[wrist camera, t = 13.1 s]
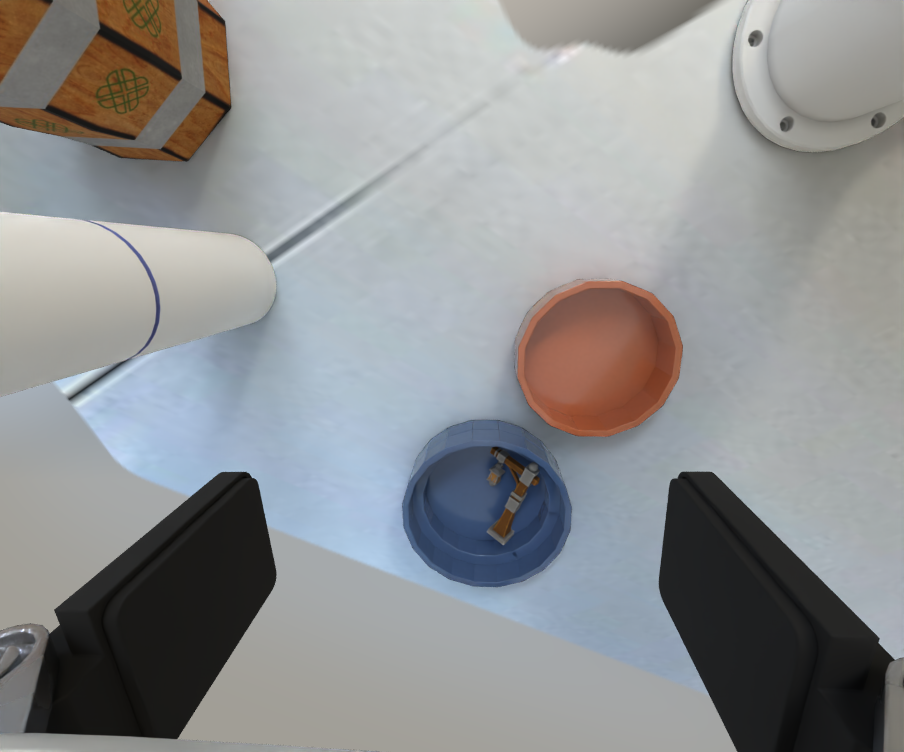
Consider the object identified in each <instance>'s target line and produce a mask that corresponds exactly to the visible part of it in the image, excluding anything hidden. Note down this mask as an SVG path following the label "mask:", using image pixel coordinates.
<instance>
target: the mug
mask: <svg viewBox="0 0 904 752" xmlns="http://www.w3.org/2000/svg"><path fill="white" fill-rule="evenodd" d="M230 109H231V100H230V86H229V73H228V59H227V45H226V32H225V21H224V20H223V18H222V17H221V16H220V15H219V14H218V13H217V11H216V10H215V9H214V8H213V7H212V6H211V4H210V3H209V2H208V1H207V0H0V122H1V123H4V124H6V125H9V126H12V127H17V128H22V129H27V130H32V131H37V132H42V133H47V134H52V135H57V136H61V137H65V138H68V139H71V140H75V141H78V142H82V143H85V144H89V145H92V146H94V147H96V148H99V149H101V150H103V151H106V152H108V153H110V154H112V155H115V156H117V157H119V158H132V159H149V160H167V161H185V162H187V161H188V160H189V159H190V157H191V156H192V155H193V154H194V153H195V151H196V150H197V149H198V148H199V146H200V145H201V144H202V143H203V142H204V140H205V139H206V138H207V137H208V135H209V134H210V133H211V132H212V131H213V129H214V128H215V127H216V126H217V124H218V123H219V122H220V121H221V120H222V118H223V117H224V116H225V115H226V113H227V112H228V111H229V110H230Z"/></svg>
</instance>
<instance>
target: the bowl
mask: <svg viewBox="0 0 904 752" xmlns="http://www.w3.org/2000/svg"><path fill="white" fill-rule="evenodd" d="M493 447H498V448H500V449H501V450H504V451H506V452H507V453H509V454H510V456H511V457H512V458H513V459H515V460H516V461H518V462H519V463H520V464H522V465H523V466H525V467H527V466H528V465H529V464H530V463H532V462H535V463H537V465H538V469H539V470H540V471H539V473H538V474H537V477H539V478H540V481H539V483H538V484H537V485H535V486H534V485H533V484H531V485H530V486H529V487H528V489H527V491H526V493H527V495H526V497H525V499H524V500H523V501H522V503H521V505H520V508H519V509H518V510H517V511H516V513H515V515H514V519H513V522H512V525H511V529H512V530H513V531H515V532H514V535H513V536H512V537H511V538H510V539H509V540H508V541H507V542H506V543H505V544H504V545H502V544H501V543H500V542H499V541H497V540H496V539H495V538H494V537H492V536H491V535H490V534H489V533H487V531H488V529H489V528H490V527H491V526H492V525H493V524H494V523H495V522H496V521H497V520H498V519H500V518H501V516H502V514H503V513H504V511H505V509H506V507H504V506H505V505H506V504H507V502H508V500H509V496H510V495H511V493H512V491H513V490H514V489H515V488H516V485H517V483H516V481H515V479H514V477H513V475H512V473H511V471H510V469H509V467H508V466H507V465H506V464H505V463H502V464H503V466H504V467H503V468H502V469H503V470H504V471H506V472H505V473H504V474H503V475H502V476H501V481H500V482H499V483H498V484H497V485H495V486H490V485H489V481H488V480H487V478H488V477H489V475H490V473H491V471H490V470H489V469H490V468H492V467H493V466H494V465H496V464H497V463H498V461H499V460H497V459H496V458H497V457H495V456H494V455H492V454H491V453H490V451H491V449H492V448H493ZM516 473H517V472H516ZM517 475H518V477H519V479H520V478H521V475H520V474H519V473H517ZM402 511H403V526H404V529H405V532H406V534H407V536H408V539H409V541H410V543H411V546H412V548H413V549H414V551H415V552H416V553H417V554H418V555H419V556H420V557H421V558H422V560H423V561H424V562H425V563H426V564H427V565H428V566H429V567H430V568H432V569H434V570H435V571H437V572H438V573H440V574H442V575H443V576H445V577H446V578H448V579H450V580H453V581H457V582H460V583H463V584H467V585H470V586H476V587H501V586H506V585H510V584H514V583H519V582H522V581H525V580H526V579H528V578H530V577H532V576H534V575H535V574H537V573H539V572H541V571H543V570H544V569H545V568H546V567H547V566H548V565H549V564H550V563H551V562H552V561H553V560H554V559H555V558H556V557H557V556H558V555H559V553H560V552H561V550H562V548H563V546H564V544H565V541H566V539H567V537H568V535H569V533H570V528H571V513H572V506H571V503H570V500H569V497H568V493H567V490H566V487H565V484H564V481H563V479H562V476H561V473H560V470H559V468H558V465H557V462H556V460H555V458H554V457H553V456H552V454H551V453H550V452H549V450H548V449H547V448H546V446H545V445H544V444H543V442H541V440H539V439H538V438H536V437H535V436H533V435H532V434H530V433H529V432H528V431H526V430H525V429H523V428H521V427H519V426H515V425H512V424H509V423H506V422H502V421H499V420H471V421H468V422H464V423H461V424H458V425H454V426H451V427H449V428H447V429H446V430H444V431H443V432H441V433H440V434H438V435H437V436H435V437H434V438H432V439H431V440H430V441H429V442H428V443H427V445H426V446H425V447H424V449H423V450H422V451H421V453H420V454H419V455H418V457H417V458H416V461H415V465H414V468H413V471H412V474H411V477H410V480H409V483H408V487H407V490H406V493H405V496H404V500H403V503H402Z"/></svg>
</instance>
